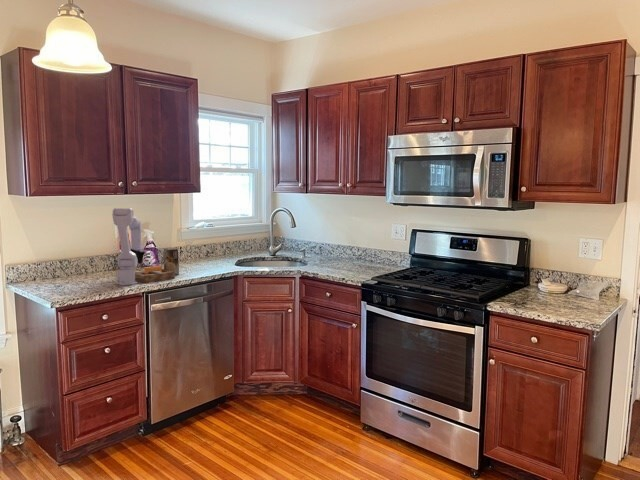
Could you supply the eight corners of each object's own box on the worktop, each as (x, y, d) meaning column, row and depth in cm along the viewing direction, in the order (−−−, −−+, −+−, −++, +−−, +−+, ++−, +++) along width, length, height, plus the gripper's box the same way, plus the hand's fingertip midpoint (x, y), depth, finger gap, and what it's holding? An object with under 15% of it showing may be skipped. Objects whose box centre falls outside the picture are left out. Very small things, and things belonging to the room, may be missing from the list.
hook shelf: (143, 282, 274) (143, 274, 273) (132, 279, 283) (132, 271, 283) (174, 278, 288) (174, 270, 288) (163, 275, 298) (163, 267, 297)
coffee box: (179, 272, 306) (178, 248, 304) (179, 274, 300) (178, 249, 298) (164, 273, 304) (163, 248, 302) (163, 275, 298) (163, 250, 296)
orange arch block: (145, 277, 281) (145, 268, 281) (144, 277, 282) (144, 267, 282) (161, 275, 289) (161, 266, 288) (160, 275, 290) (160, 265, 289)
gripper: (148, 240, 285) (148, 262, 287) (137, 238, 295) (137, 260, 296) (136, 241, 280) (137, 264, 281) (125, 239, 290) (126, 261, 291)
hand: (136, 262), depth 289 cm, fingers open, 7 cm apart
